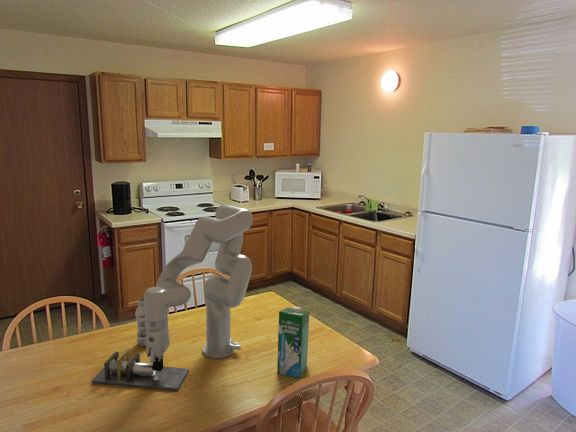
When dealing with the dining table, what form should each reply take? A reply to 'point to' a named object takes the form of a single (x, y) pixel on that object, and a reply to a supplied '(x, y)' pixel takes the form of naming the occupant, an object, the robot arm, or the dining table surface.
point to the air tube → (133, 368)
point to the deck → (146, 379)
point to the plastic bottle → (141, 323)
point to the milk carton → (293, 341)
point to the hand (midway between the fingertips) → (158, 369)
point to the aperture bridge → (122, 357)
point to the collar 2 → (128, 366)
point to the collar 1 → (106, 364)
